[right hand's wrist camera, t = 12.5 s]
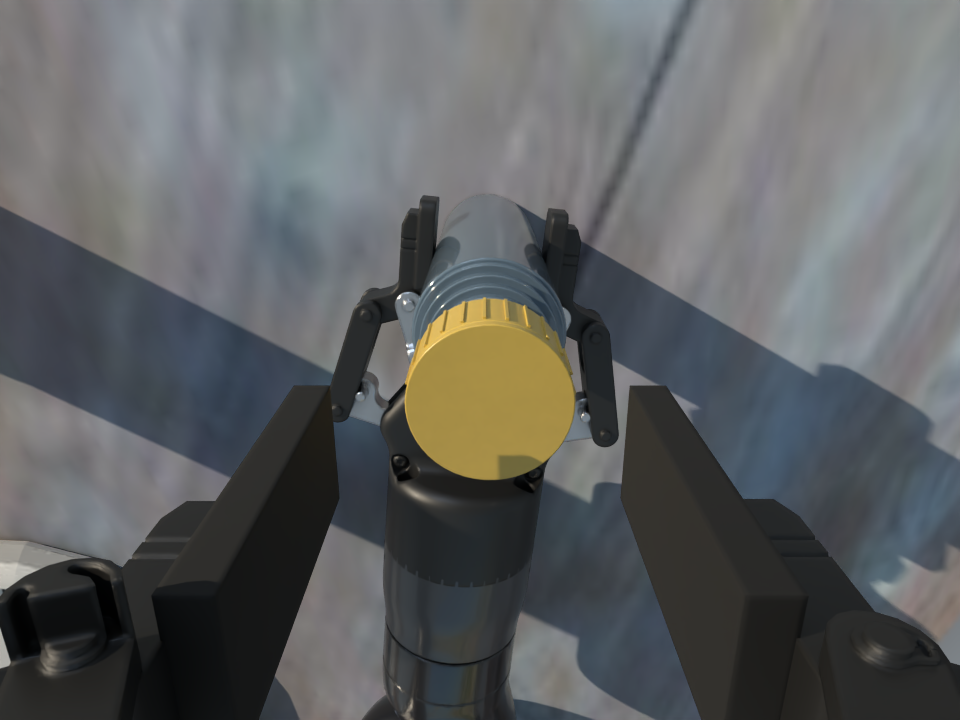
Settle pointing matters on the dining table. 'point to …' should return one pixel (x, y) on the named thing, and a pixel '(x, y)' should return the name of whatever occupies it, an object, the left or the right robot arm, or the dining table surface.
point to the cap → (489, 390)
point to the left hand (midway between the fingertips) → (493, 206)
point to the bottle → (487, 265)
